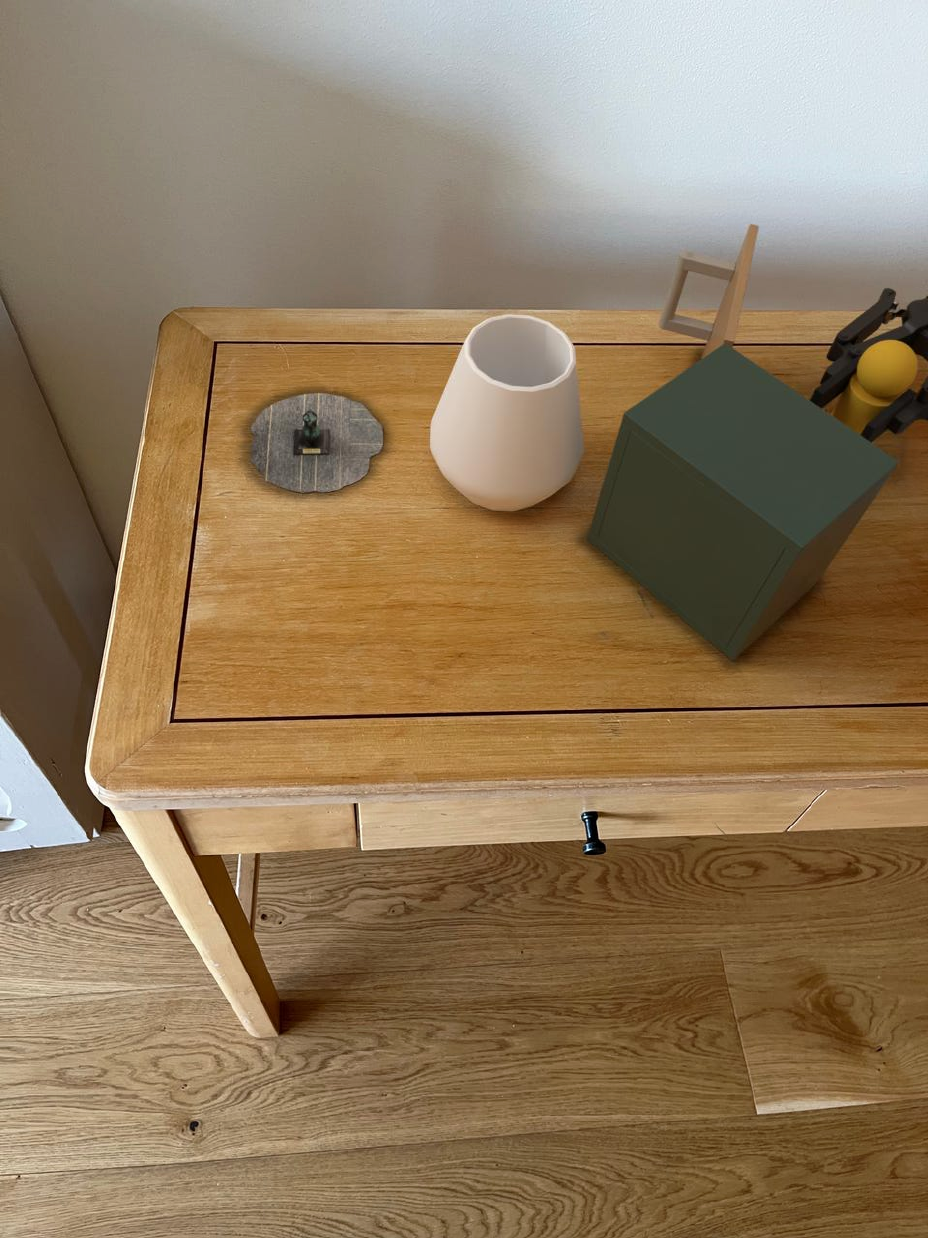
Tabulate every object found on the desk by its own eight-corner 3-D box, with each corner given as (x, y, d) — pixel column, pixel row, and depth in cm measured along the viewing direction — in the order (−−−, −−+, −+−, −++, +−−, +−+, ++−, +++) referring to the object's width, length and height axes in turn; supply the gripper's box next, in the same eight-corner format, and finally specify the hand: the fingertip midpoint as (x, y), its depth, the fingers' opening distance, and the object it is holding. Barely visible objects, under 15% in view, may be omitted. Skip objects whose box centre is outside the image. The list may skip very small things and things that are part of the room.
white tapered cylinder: (397, 481, 82) (398, 359, 70) (481, 396, 88) (495, 271, 76) (525, 556, 78) (549, 440, 67) (602, 461, 85) (637, 341, 73)
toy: (877, 439, 85) (936, 345, 75) (857, 468, 82) (915, 374, 73) (831, 415, 86) (884, 320, 77) (810, 443, 84) (862, 348, 75)
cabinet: (674, 472, 85) (725, 342, 72) (818, 581, 79) (899, 461, 66) (586, 539, 80) (623, 412, 67) (732, 661, 74) (802, 548, 61)
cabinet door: (621, 451, 85) (660, 322, 73) (652, 341, 94) (693, 209, 82) (684, 468, 85) (734, 341, 72) (710, 356, 93) (759, 225, 81)
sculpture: (291, 515, 79) (248, 429, 76) (263, 505, 87) (224, 427, 84) (408, 454, 83) (372, 369, 80) (371, 450, 91) (337, 373, 88)
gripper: (1038, 388, 87) (906, 512, 77) (881, 292, 93) (740, 396, 83) (1089, 322, 80) (952, 449, 71) (917, 224, 87) (769, 328, 77)
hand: (838, 420), depth 77 cm, fingers closed on toy, 4 cm apart
